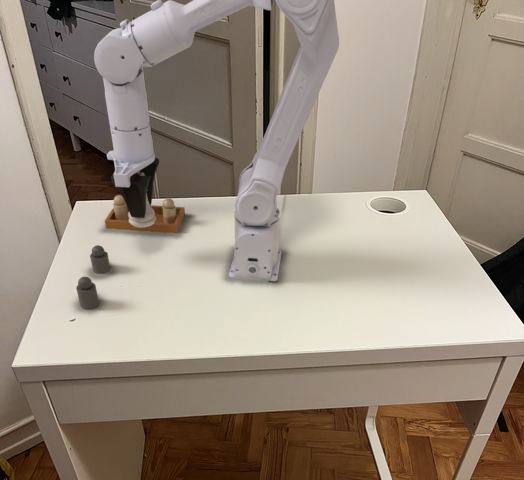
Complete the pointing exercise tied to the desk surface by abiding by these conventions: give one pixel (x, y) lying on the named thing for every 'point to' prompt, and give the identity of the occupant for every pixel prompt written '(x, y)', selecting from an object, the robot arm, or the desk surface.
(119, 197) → the ivory piece
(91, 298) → the grey pawn
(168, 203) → the ivory piece
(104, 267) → the grey pawn
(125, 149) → the robot arm
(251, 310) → the desk surface
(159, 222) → the oak tray
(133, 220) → the rook chess piece
